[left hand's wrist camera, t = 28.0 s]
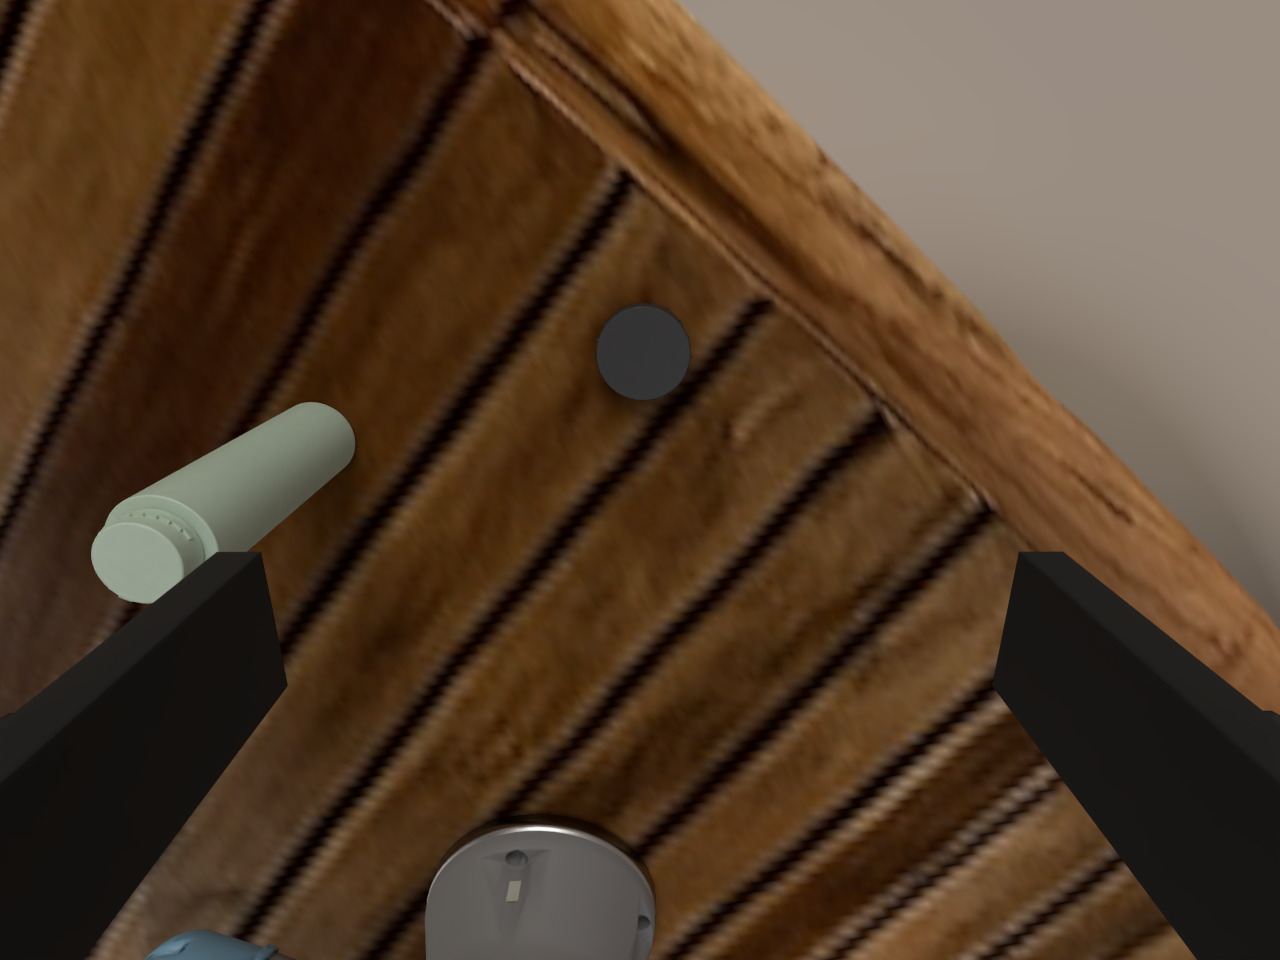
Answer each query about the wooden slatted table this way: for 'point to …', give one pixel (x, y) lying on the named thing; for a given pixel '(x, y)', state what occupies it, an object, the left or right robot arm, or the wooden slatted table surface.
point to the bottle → (220, 501)
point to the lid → (643, 351)
